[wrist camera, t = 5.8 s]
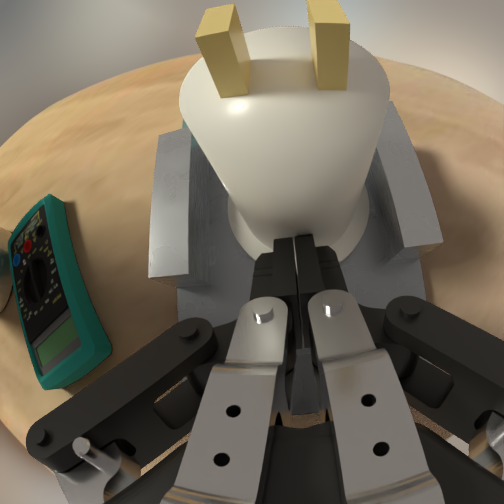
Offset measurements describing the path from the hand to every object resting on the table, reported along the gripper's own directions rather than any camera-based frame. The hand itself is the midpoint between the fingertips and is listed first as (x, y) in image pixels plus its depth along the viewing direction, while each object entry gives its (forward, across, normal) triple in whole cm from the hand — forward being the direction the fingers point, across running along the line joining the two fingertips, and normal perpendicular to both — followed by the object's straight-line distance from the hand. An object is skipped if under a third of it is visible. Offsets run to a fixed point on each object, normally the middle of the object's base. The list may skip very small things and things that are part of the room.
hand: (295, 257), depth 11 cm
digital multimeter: (+4, +18, +3) cm, 19 cm away
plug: (+4, 0, 0) cm, 5 cm away
